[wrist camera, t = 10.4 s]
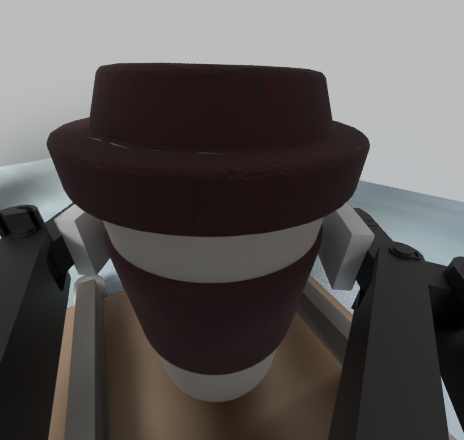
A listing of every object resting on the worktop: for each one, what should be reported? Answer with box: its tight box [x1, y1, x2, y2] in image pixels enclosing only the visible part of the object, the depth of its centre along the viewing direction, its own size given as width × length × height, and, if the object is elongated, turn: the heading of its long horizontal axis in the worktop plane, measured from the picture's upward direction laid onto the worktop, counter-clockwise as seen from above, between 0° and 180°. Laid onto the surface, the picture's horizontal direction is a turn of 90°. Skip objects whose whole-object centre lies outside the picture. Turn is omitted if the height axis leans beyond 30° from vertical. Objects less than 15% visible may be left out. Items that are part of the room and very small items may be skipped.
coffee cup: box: [47, 63, 370, 402], centre depth 11 cm, size 10×10×15 cm
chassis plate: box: [48, 275, 456, 440], centre depth 16 cm, size 22×21×4 cm
